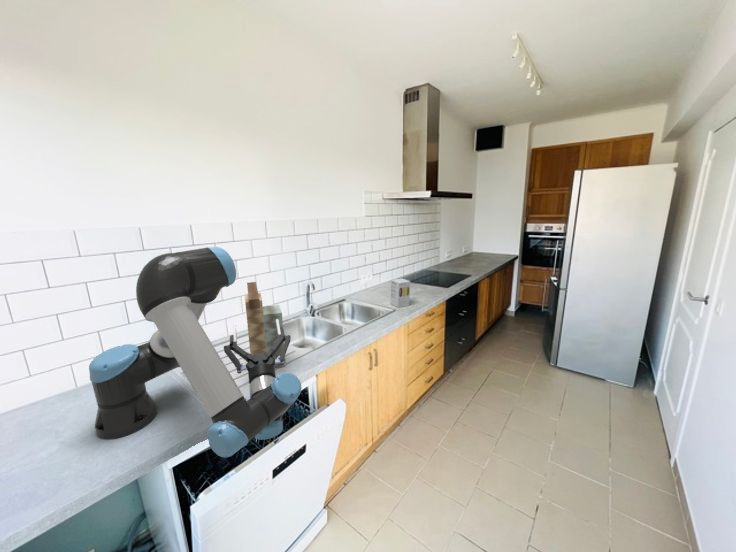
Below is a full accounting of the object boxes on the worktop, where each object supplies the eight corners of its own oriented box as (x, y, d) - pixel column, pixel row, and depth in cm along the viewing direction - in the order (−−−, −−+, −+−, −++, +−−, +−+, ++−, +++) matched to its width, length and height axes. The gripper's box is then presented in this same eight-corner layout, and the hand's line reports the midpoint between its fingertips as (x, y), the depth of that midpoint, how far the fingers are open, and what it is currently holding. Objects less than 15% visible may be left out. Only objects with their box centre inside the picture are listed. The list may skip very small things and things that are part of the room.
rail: (249, 309, 105) (248, 300, 104) (247, 290, 126) (247, 282, 125) (260, 308, 106) (259, 298, 105) (256, 289, 128) (255, 281, 127)
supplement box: (397, 308, 193) (398, 282, 189) (389, 303, 201) (390, 279, 196) (409, 305, 197) (410, 281, 193) (401, 301, 205) (402, 277, 201)
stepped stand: (252, 373, 119) (245, 302, 112) (251, 361, 128) (244, 294, 121) (285, 366, 124) (280, 298, 117) (282, 355, 133) (277, 291, 126)
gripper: (217, 397, 85) (217, 337, 99) (304, 378, 95) (293, 325, 109) (213, 385, 80) (213, 323, 94) (305, 366, 90) (293, 312, 104)
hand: (256, 324), depth 101 cm, fingers open, 13 cm apart
